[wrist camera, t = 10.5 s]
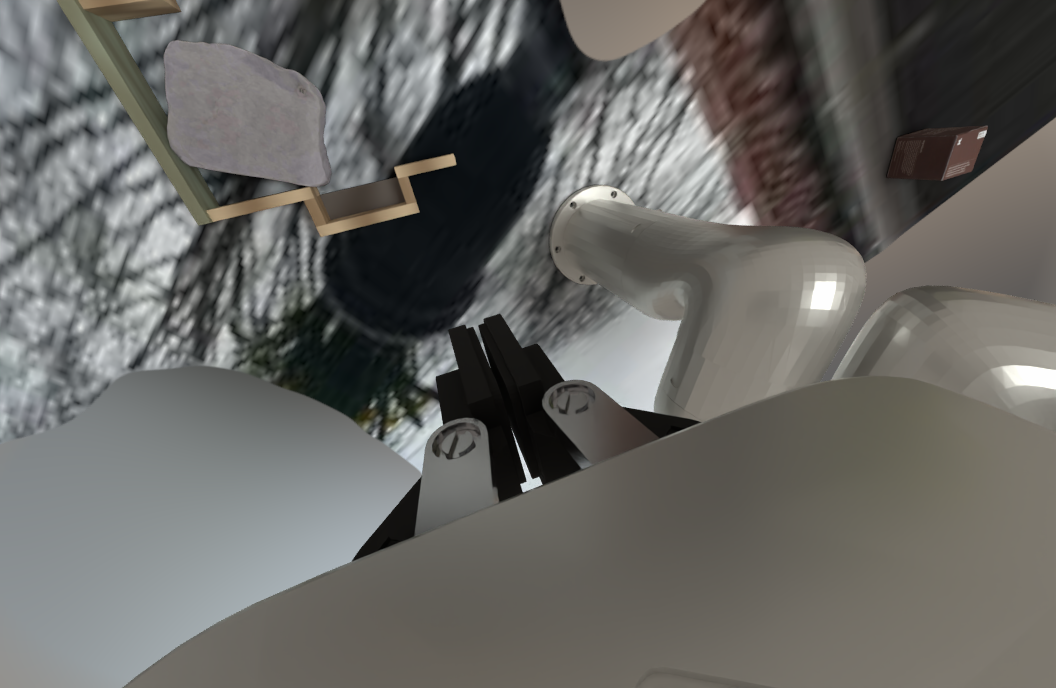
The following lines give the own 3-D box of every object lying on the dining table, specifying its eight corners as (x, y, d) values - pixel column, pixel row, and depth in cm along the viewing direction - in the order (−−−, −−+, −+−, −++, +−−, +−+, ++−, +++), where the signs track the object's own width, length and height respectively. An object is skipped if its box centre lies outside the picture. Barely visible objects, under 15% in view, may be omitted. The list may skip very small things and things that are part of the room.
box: (884, 178, 59) (941, 181, 53) (896, 136, 56) (957, 134, 50) (913, 169, 60) (972, 172, 54) (926, 127, 57) (990, 124, 51)
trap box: (384, -94, 30) (382, -121, 28) (461, 197, 42) (466, 200, 39) (48, -57, 27) (4, -83, 24) (235, 254, 38) (222, 262, 35)
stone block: (177, 47, 32) (188, 171, 34) (145, 17, 28) (160, 161, 30) (332, 86, 36) (333, 193, 39) (325, 65, 32) (327, 187, 34)
